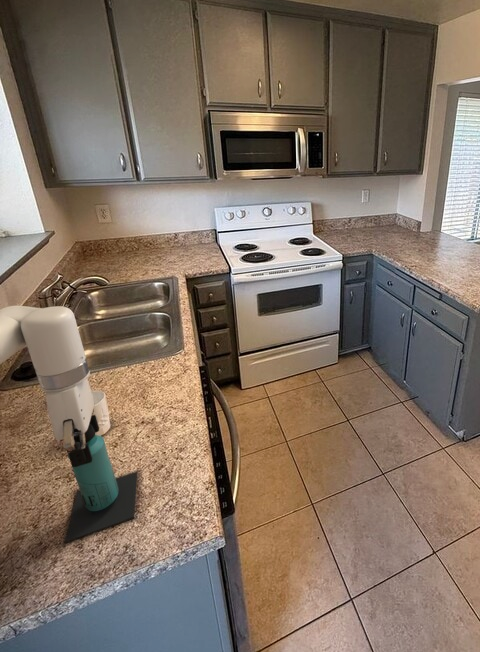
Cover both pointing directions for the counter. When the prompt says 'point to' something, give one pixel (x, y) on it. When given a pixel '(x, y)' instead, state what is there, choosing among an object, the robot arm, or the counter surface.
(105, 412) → the white cup
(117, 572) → the counter surface
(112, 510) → the corner mat
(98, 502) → the beverage bottle
